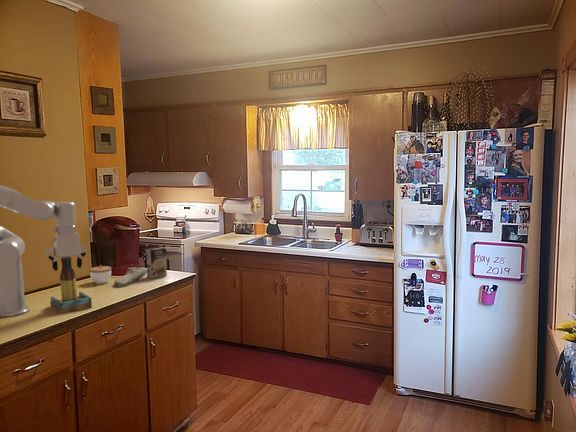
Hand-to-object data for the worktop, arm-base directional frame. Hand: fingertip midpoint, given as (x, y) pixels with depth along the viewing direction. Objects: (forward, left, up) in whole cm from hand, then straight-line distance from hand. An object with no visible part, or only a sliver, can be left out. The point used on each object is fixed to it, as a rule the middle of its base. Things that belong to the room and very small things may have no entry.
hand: (67, 268), depth 203 cm
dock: (+1, 0, -17) cm, 17 cm away
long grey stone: (+42, +31, -18) cm, 55 cm away
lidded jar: (+27, +35, -18) cm, 47 cm away
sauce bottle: (0, 0, -15) cm, 15 cm away
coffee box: (+55, +27, -18) cm, 63 cm away
